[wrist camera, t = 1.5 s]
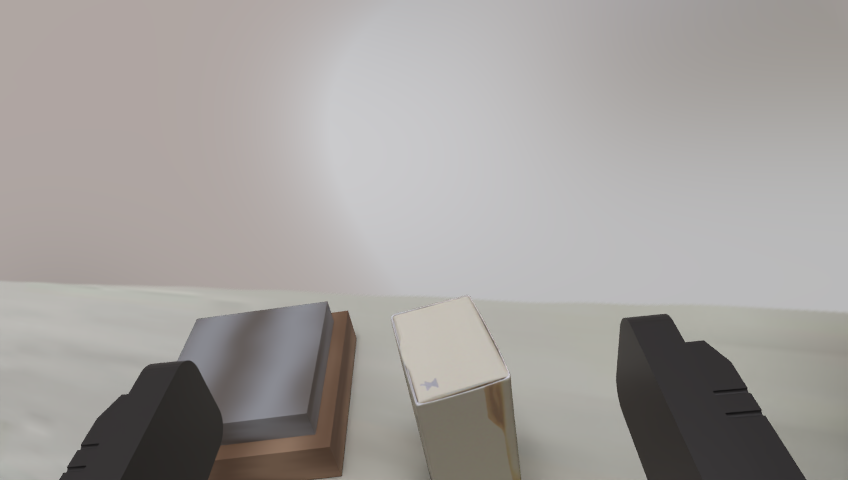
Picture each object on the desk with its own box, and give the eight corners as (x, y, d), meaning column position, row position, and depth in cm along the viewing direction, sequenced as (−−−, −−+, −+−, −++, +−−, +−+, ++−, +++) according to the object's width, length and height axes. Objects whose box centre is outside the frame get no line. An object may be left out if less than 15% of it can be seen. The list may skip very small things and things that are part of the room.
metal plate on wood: (356, 338, 44) (341, 291, 41) (341, 476, 34) (321, 425, 31) (212, 357, 44) (188, 311, 41) (156, 496, 34) (120, 449, 32)
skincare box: (529, 534, 29) (517, 382, 22) (452, 560, 29) (416, 412, 22) (490, 436, 34) (470, 289, 28) (424, 456, 34) (388, 311, 27)
